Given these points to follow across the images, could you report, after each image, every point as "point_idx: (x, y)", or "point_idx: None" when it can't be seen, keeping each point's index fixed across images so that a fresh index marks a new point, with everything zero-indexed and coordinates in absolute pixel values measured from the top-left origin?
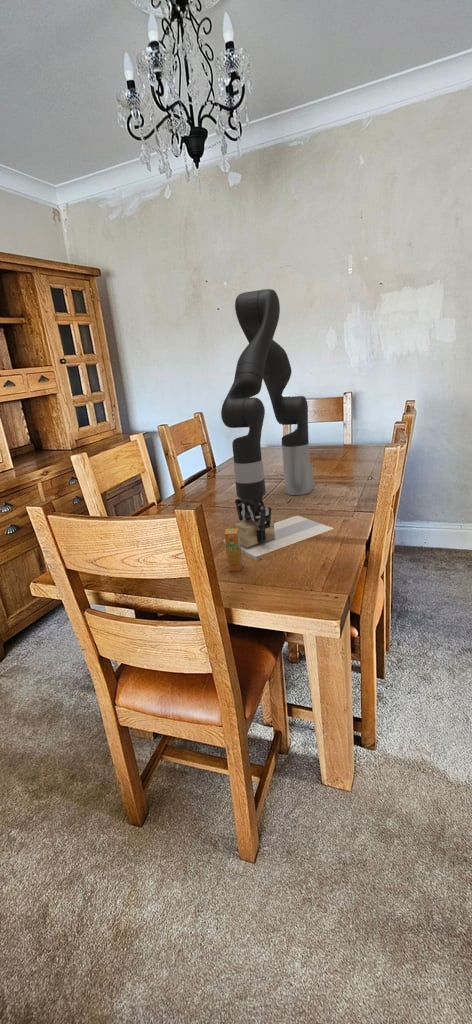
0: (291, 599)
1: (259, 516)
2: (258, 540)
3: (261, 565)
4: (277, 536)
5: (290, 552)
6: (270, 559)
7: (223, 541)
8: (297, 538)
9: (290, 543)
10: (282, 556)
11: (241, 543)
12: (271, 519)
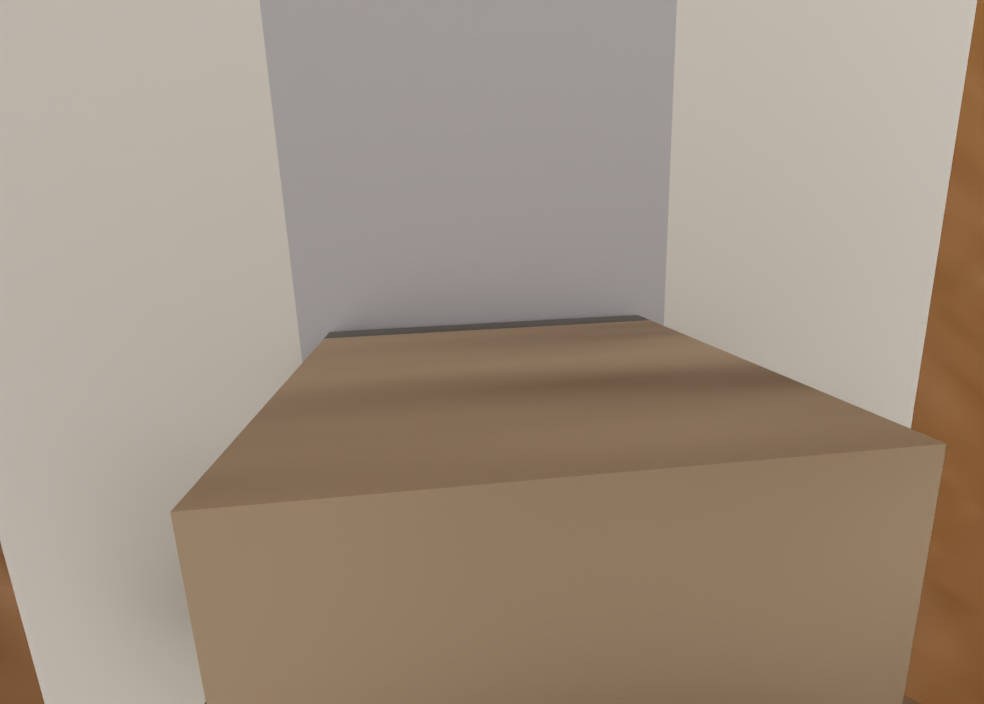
0: None
1: (203, 667)
2: None
3: (926, 696)
4: (558, 209)
5: (950, 317)
6: None
7: None
8: (872, 10)
9: (918, 229)
10: (949, 446)
11: None
12: (861, 480)
